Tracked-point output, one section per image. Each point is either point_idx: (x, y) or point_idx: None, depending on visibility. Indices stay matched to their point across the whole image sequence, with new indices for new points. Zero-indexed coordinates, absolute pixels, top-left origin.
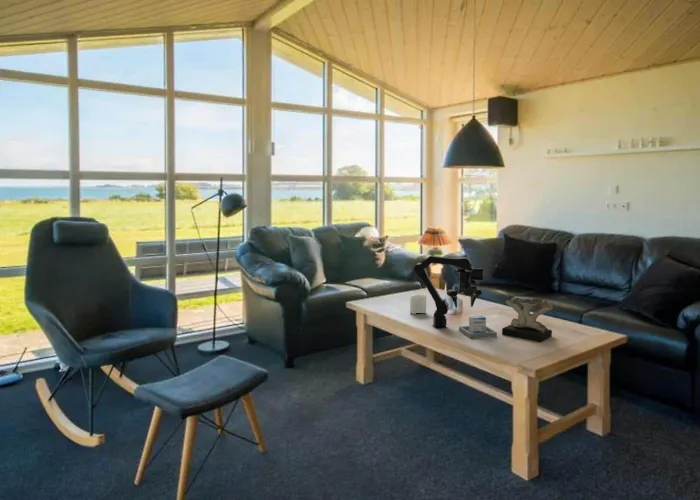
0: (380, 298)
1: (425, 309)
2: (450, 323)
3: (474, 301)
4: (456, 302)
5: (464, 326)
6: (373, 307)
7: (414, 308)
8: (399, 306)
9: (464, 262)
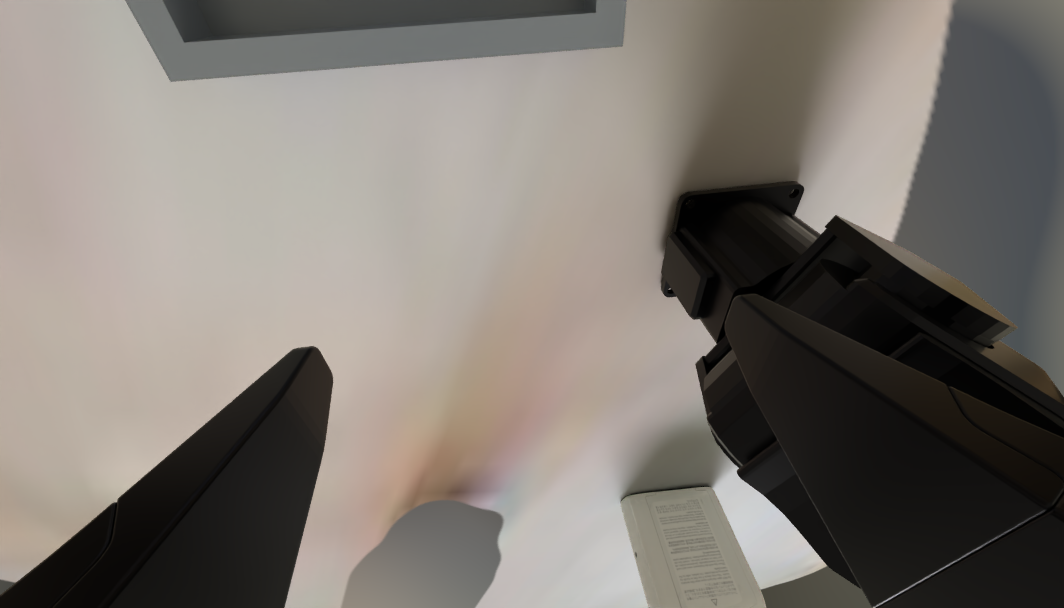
0: None
1: (638, 520)
2: (569, 326)
3: (112, 503)
4: (908, 395)
5: (537, 29)
6: (796, 542)
7: (713, 521)
8: None
9: None
